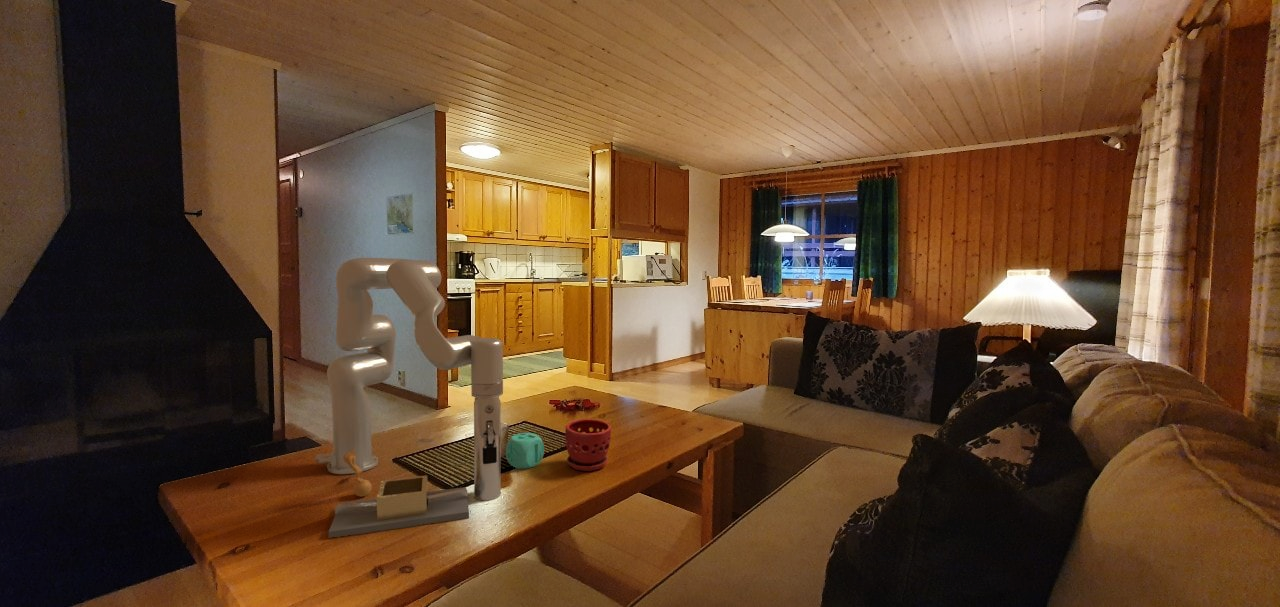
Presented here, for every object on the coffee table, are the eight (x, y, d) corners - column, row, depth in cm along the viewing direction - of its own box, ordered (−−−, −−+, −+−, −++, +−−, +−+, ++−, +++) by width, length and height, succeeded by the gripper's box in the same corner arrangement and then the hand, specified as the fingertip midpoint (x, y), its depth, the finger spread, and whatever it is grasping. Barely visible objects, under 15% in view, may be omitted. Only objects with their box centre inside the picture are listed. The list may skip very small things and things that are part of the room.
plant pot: (556, 470, 150) (556, 428, 149) (579, 454, 162) (579, 416, 161) (598, 477, 145) (598, 435, 144) (617, 461, 157) (618, 421, 156)
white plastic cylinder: (493, 502, 129) (493, 401, 127) (469, 499, 130) (468, 399, 128) (505, 491, 135) (505, 394, 133) (482, 488, 136) (481, 393, 135)
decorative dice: (526, 471, 148) (526, 443, 148) (504, 465, 152) (504, 438, 152) (544, 462, 155) (544, 435, 155) (523, 457, 159) (523, 431, 159)
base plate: (328, 538, 111) (328, 531, 111) (340, 509, 124) (340, 503, 124) (468, 518, 121) (468, 511, 121) (466, 492, 134) (465, 487, 134)
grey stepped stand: (329, 527, 112) (329, 504, 112) (338, 506, 122) (337, 485, 121) (468, 507, 122) (468, 486, 122) (466, 490, 132) (466, 470, 131)
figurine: (374, 500, 129) (373, 452, 128) (346, 506, 125) (345, 456, 124) (369, 488, 136) (368, 442, 135) (342, 493, 132) (341, 446, 131)
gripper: (507, 395, 124) (507, 466, 125) (499, 380, 140) (499, 443, 141) (473, 398, 121) (474, 470, 122) (469, 382, 137) (470, 446, 139)
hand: (488, 456), depth 132 cm, fingers open, 9 cm apart
